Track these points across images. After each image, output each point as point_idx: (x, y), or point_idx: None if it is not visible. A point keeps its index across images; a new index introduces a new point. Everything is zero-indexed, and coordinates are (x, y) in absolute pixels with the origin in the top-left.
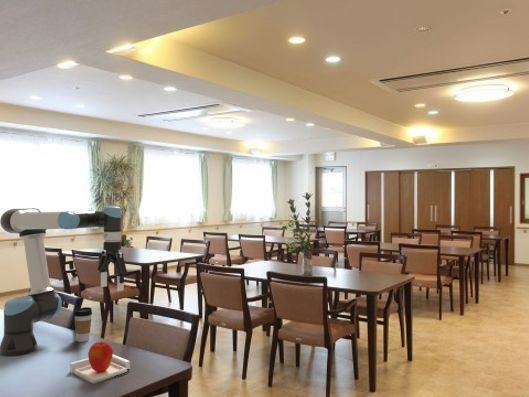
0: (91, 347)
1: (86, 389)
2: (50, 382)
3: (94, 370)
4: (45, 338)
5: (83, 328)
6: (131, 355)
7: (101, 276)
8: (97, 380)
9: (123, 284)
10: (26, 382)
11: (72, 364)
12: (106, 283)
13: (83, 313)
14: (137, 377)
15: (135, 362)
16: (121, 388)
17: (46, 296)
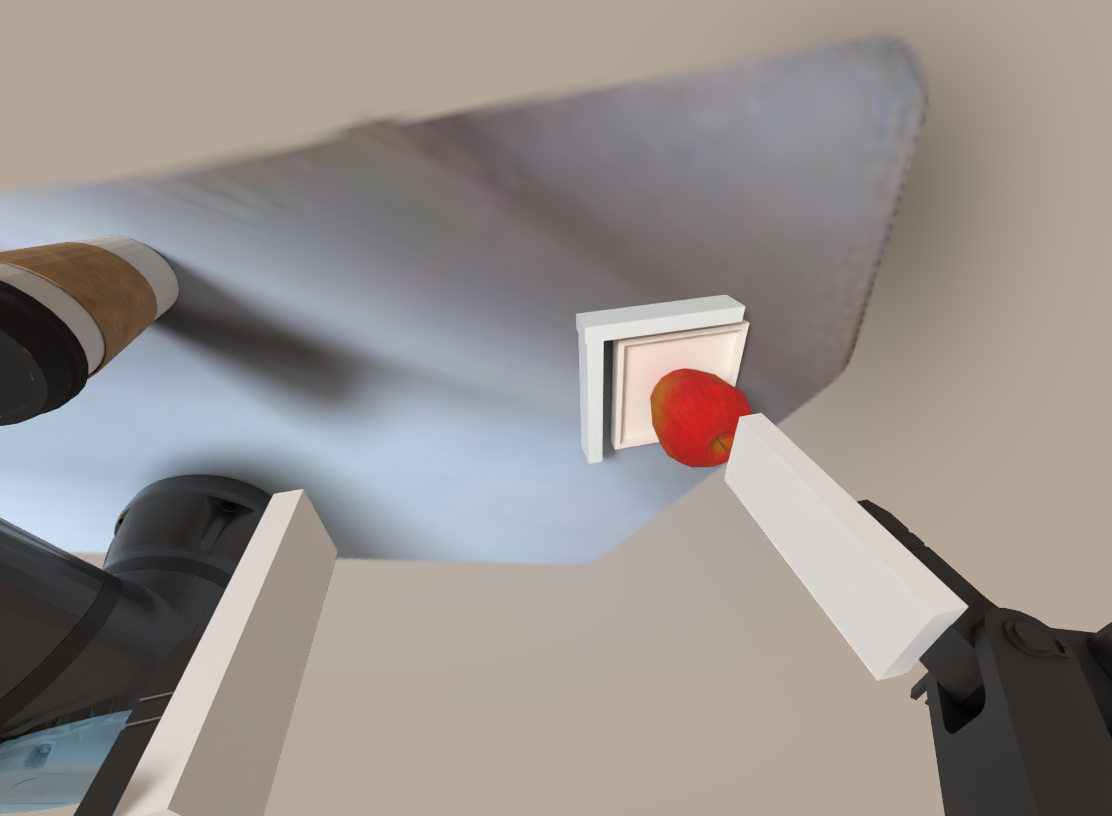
0: (699, 466)
1: None
2: (614, 494)
3: (649, 397)
4: None
5: (138, 320)
6: (595, 196)
7: (280, 738)
8: None
9: (817, 469)
10: (568, 531)
11: (601, 459)
12: (292, 532)
13: (61, 373)
14: (798, 308)
15: (685, 234)
16: (808, 379)
17: None
